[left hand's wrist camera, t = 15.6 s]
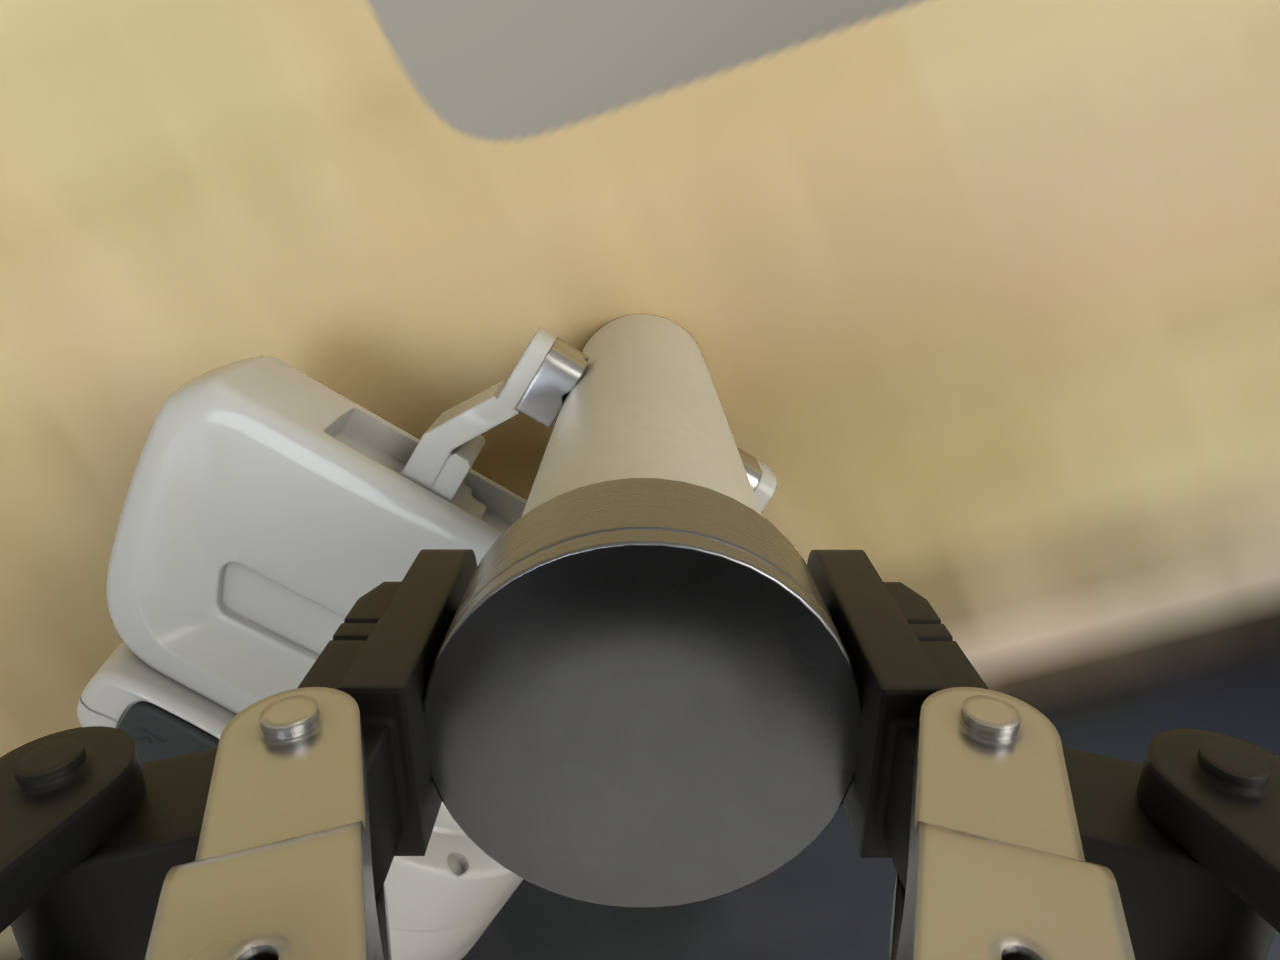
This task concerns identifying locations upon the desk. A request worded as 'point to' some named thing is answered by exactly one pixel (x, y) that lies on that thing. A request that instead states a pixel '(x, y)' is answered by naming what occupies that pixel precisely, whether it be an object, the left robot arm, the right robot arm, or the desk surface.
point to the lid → (642, 698)
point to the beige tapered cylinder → (642, 417)
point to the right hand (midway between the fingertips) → (659, 403)
